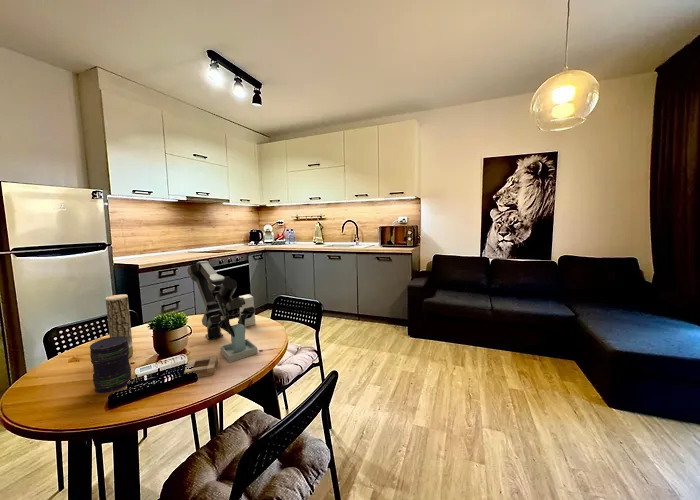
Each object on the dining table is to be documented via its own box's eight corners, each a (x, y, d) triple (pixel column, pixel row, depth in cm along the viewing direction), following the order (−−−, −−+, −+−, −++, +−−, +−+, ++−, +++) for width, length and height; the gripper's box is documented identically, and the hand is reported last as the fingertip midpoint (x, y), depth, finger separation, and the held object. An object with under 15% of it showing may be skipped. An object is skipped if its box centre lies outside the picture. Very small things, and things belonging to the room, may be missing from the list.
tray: (220, 352, 120) (220, 346, 120) (247, 344, 127) (247, 338, 127) (229, 362, 111) (228, 355, 111) (257, 353, 118) (257, 347, 118)
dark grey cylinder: (112, 376, 102) (107, 336, 100) (139, 376, 102) (135, 336, 100) (85, 393, 92) (80, 348, 91) (115, 394, 92) (110, 349, 90)
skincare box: (255, 324, 151) (254, 296, 149) (243, 327, 147) (242, 298, 146) (251, 320, 158) (250, 293, 156) (239, 322, 154) (238, 295, 153)
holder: (190, 365, 109) (190, 359, 109) (217, 361, 112) (217, 355, 111) (184, 379, 100) (183, 372, 100) (214, 374, 103) (213, 367, 102)
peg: (231, 349, 119) (230, 326, 118) (241, 346, 122) (239, 323, 121) (236, 352, 116) (234, 328, 115) (245, 349, 119) (244, 325, 118)
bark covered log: (135, 356, 117) (129, 296, 114) (113, 363, 112) (106, 300, 109) (131, 351, 121) (125, 293, 119) (110, 357, 116) (104, 296, 114)
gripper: (207, 296, 112) (221, 331, 106) (252, 288, 126) (266, 318, 119) (201, 312, 119) (213, 345, 112) (244, 302, 132) (258, 331, 126)
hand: (239, 334), depth 117 cm, fingers closed on peg, 4 cm apart
